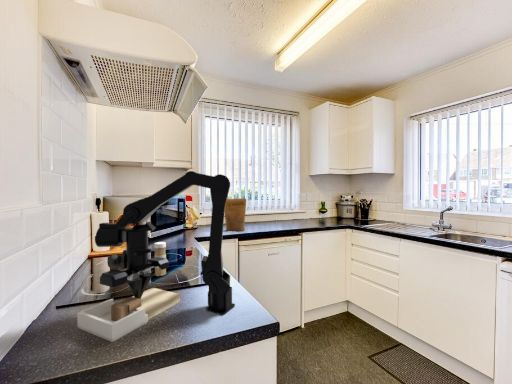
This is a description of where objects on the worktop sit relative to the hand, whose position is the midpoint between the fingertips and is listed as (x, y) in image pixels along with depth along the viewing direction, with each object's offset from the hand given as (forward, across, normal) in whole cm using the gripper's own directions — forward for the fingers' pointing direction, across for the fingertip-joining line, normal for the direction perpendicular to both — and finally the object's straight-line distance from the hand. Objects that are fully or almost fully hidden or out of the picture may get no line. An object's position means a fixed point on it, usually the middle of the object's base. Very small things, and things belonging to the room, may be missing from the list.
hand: (137, 299), depth 73 cm
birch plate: (+4, -4, 0) cm, 5 cm away
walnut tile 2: (+1, +3, 0) cm, 3 cm away
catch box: (+4, +8, 0) cm, 8 cm away
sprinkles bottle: (+4, -26, -20) cm, 33 cm away
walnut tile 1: (+1, +5, 0) cm, 5 cm away
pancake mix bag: (+4, -134, -50) cm, 143 cm away
